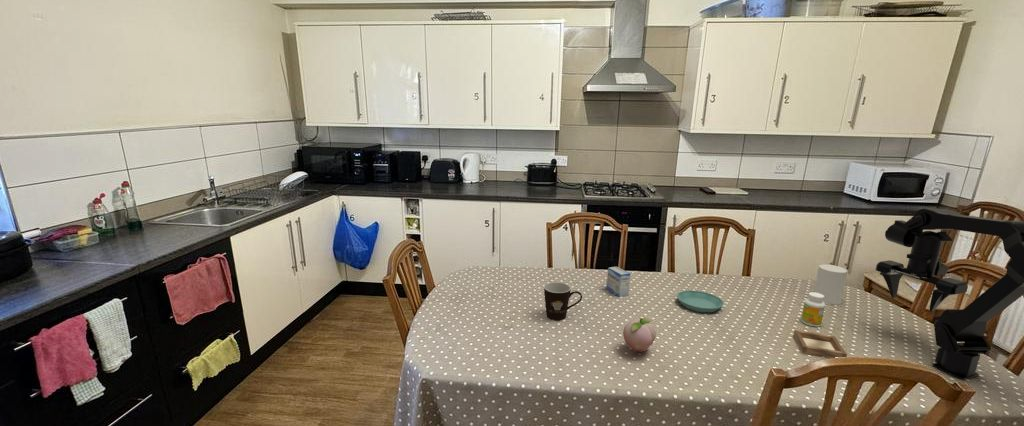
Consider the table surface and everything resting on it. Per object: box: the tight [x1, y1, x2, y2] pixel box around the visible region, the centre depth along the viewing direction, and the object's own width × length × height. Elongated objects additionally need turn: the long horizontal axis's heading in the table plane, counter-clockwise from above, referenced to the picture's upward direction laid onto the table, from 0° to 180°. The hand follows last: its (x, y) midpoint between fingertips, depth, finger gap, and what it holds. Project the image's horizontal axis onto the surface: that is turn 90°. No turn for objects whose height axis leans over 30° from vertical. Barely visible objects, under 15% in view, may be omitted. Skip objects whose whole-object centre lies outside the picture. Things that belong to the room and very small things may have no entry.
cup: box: [813, 263, 848, 306], centre depth 151 cm, size 8×8×12 cm
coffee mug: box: [543, 281, 583, 322], centre depth 135 cm, size 12×9×10 cm
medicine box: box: [605, 266, 631, 298], centre depth 155 cm, size 8×4×9 cm, turn 25°
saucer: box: [676, 290, 725, 313], centre depth 146 cm, size 15×15×3 cm
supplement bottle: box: [800, 291, 826, 328], centre depth 134 cm, size 5×5×10 cm
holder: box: [792, 329, 848, 359], centre depth 120 cm, size 10×10×2 cm
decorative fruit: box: [622, 317, 657, 353], centre depth 116 cm, size 9×8×10 cm
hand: (911, 304), depth 122 cm, fingers open, 9 cm apart
